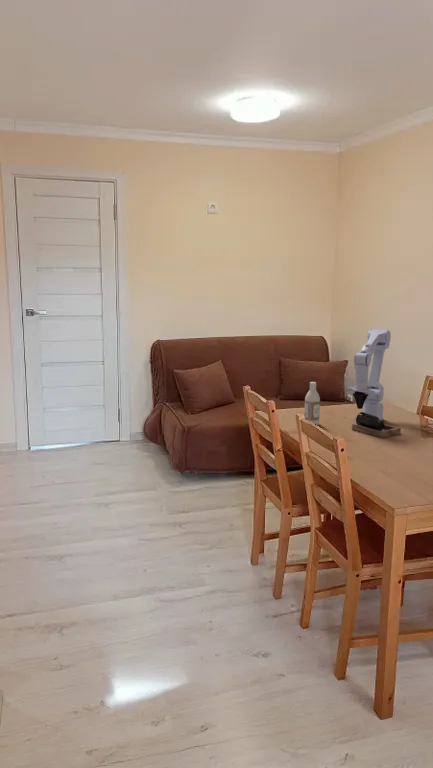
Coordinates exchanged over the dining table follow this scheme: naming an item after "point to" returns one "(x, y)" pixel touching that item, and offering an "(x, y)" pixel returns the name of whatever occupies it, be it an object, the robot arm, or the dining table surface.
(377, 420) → the supplement bottle
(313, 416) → the bath foam
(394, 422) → the dining table surface
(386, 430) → the tray
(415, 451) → the dining table surface
